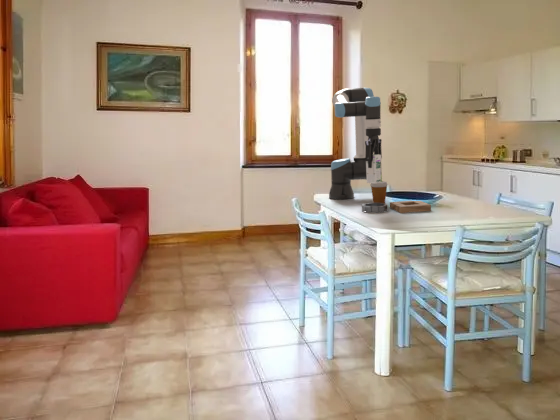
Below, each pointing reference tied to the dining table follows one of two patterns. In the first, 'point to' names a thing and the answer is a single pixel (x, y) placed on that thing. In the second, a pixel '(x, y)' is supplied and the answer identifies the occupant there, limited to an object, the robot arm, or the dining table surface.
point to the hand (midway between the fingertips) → (373, 173)
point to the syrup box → (375, 170)
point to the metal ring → (374, 207)
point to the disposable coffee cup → (379, 192)
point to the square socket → (410, 206)
